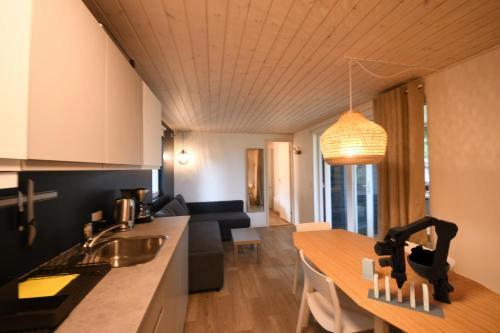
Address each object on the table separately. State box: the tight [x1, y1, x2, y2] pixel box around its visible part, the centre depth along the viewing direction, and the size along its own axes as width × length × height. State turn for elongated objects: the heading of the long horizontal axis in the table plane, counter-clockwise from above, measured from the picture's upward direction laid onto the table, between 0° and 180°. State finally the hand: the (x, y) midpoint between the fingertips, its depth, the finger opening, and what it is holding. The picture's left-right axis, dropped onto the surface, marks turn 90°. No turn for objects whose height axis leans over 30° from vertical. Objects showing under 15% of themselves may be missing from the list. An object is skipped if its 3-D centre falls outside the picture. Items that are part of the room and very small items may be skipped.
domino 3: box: [396, 285, 403, 302], centre depth 107 cm, size 5×2×10 cm, turn 146°
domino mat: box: [366, 288, 446, 320], centre depth 106 cm, size 10×30×1 cm, turn 56°
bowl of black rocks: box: [405, 244, 451, 279], centre depth 129 cm, size 20×20×19 cm
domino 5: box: [422, 283, 430, 311], centre depth 101 cm, size 5×2×10 cm, turn 146°
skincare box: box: [361, 257, 376, 283], centre depth 128 cm, size 6×4×12 cm
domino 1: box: [373, 273, 380, 298], centre depth 112 cm, size 5×2×10 cm, turn 146°
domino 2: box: [384, 275, 391, 301], centre depth 110 cm, size 5×2×10 cm, turn 146°
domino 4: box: [409, 280, 416, 308], centre depth 104 cm, size 5×2×10 cm, turn 146°
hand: (399, 286), depth 107 cm, fingers closed on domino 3, 5 cm apart
